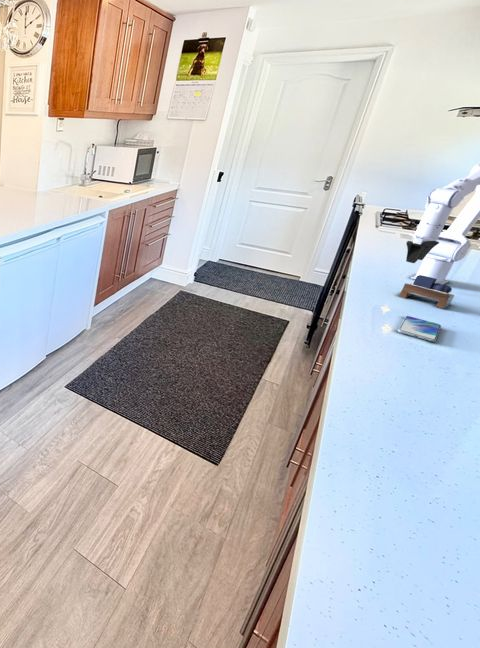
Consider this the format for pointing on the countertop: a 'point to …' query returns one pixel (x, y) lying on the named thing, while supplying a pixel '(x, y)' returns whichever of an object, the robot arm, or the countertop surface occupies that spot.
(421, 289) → the shoe shelf
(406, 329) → the smartphone
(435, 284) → the trainer
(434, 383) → the countertop surface
